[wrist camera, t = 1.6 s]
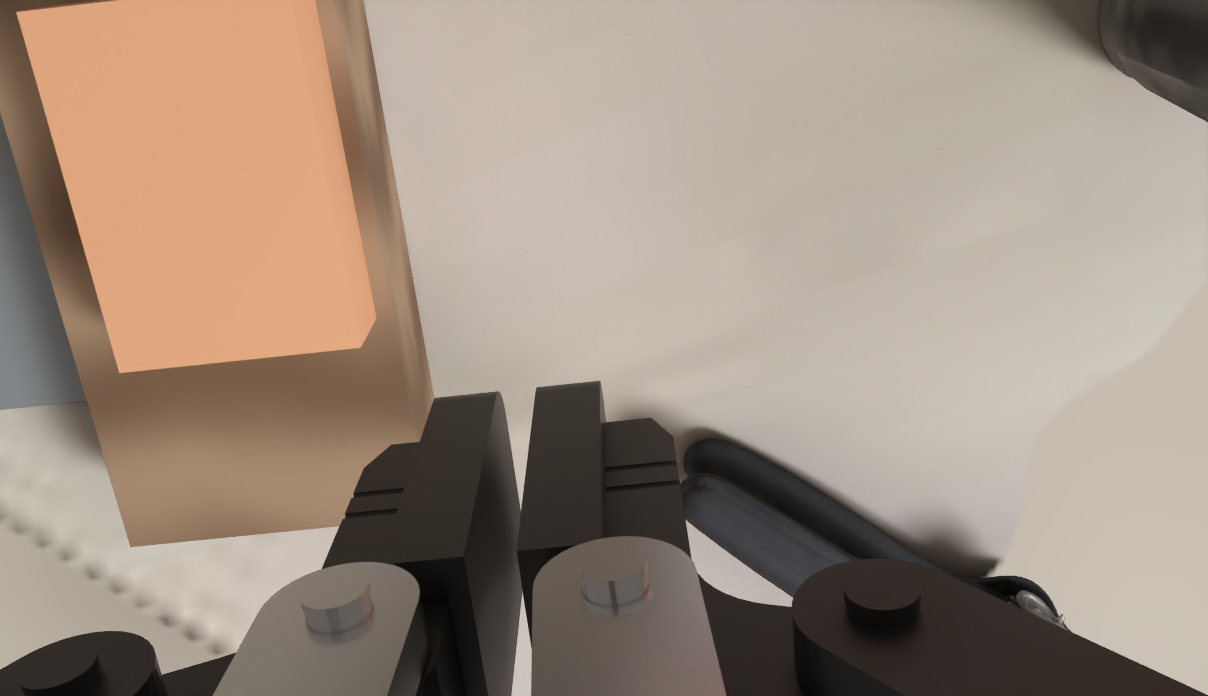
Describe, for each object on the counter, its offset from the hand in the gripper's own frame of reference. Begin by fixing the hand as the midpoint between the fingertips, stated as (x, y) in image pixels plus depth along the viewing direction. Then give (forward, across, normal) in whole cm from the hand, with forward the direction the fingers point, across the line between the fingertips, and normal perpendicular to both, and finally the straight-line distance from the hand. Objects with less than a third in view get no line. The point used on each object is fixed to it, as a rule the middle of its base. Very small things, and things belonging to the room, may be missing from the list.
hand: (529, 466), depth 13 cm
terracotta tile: (+20, +10, 0) cm, 22 cm away
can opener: (+26, -9, +18) cm, 33 cm away
